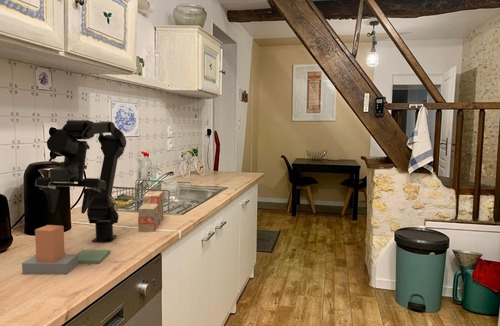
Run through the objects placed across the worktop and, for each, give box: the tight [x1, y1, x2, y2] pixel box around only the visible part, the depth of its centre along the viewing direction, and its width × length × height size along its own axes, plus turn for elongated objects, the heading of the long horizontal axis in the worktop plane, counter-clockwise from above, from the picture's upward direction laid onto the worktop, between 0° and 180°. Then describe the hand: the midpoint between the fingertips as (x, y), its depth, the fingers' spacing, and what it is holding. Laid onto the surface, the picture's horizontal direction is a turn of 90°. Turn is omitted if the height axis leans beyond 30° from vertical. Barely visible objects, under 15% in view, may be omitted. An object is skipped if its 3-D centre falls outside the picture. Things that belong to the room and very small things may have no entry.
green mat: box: [76, 249, 112, 265], centre depth 111 cm, size 9×9×1 cm
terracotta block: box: [34, 224, 66, 263], centre depth 101 cm, size 5×5×9 cm
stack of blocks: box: [137, 190, 164, 233], centre depth 148 cm, size 21×6×12 cm, turn 5°
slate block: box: [21, 253, 79, 275], centre depth 102 cm, size 7×12×3 cm, turn 91°
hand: (67, 212), depth 104 cm, fingers open, 9 cm apart
